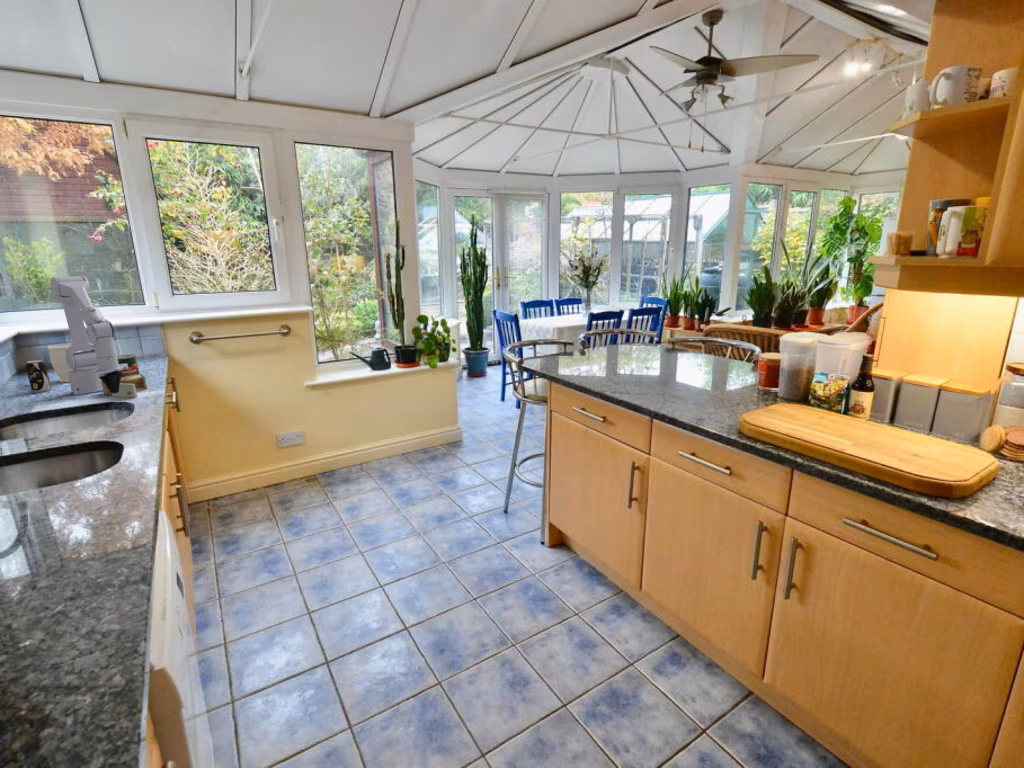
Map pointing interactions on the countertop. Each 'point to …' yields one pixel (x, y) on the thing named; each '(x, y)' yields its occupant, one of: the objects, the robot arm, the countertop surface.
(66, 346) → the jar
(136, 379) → the cabinet
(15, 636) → the countertop surface
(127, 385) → the door
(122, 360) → the canned tomato
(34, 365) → the beverage can
